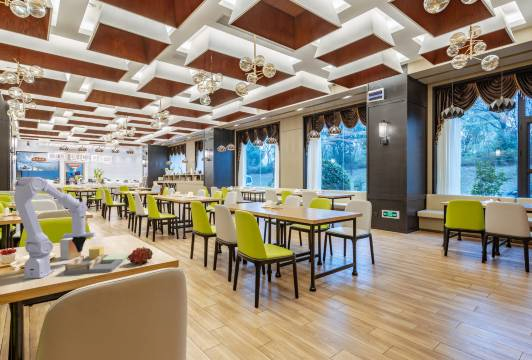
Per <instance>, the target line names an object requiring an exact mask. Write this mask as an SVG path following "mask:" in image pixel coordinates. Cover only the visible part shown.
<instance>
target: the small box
mask: <svg viewBox="0 0 532 360" xmlns="http://www.w3.org/2000/svg"><path fill="white" fill-rule="evenodd" d="M72 239H73V238H62V239H59V249H60V253H59V254H60V257H59V258H60V260H72V259H74V258H75V259H76V258H79V257H80V256H82V251H81V252H77V249H76V246H75V245H74V243H73V242H72Z"/></svg>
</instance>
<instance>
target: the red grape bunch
mask: <svg viewBox="0 0 532 360" xmlns="http://www.w3.org/2000/svg"><path fill="white" fill-rule="evenodd" d="M153 254H154V253H153V251H152V250H151V249H150V248H147V247H145V246H142V247H136V248H135V249H133V250H132V252H131V253H130V254H129V256H128V257H127V259H128V260H129V259H131V260H129V262H130V263H132V264H139V265H142V264H143V263H144V264H145V262H146V263H147V261H148V260H151V259H152V258H153V257H152V256H153ZM127 259H126V260H127Z"/></svg>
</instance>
